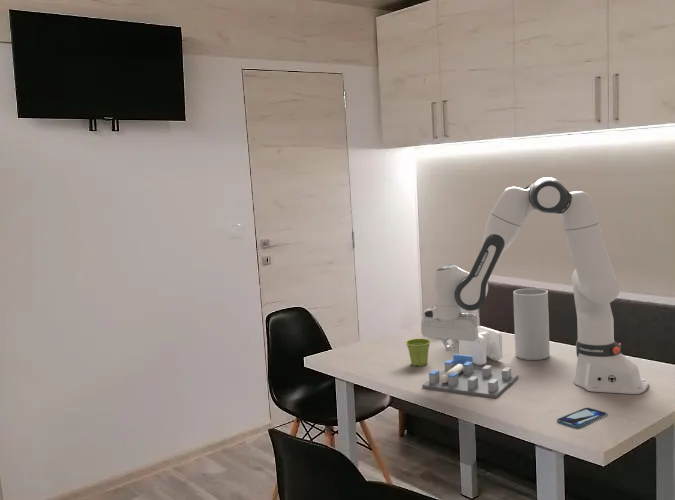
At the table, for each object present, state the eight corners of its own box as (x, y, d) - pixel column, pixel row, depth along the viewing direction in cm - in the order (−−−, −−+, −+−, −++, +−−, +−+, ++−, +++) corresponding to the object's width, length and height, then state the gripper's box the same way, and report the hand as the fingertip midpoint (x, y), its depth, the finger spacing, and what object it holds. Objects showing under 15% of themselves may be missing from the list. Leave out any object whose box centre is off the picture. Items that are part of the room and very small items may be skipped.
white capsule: (456, 369, 240) (458, 361, 239) (464, 372, 239) (466, 364, 238) (438, 382, 227) (439, 374, 226) (446, 385, 225) (447, 377, 225)
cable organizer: (504, 362, 248) (503, 332, 247) (481, 368, 244) (480, 337, 243) (480, 353, 262) (478, 324, 260) (457, 358, 258) (456, 329, 256)
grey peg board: (518, 377, 231) (517, 360, 230) (496, 398, 213) (495, 380, 212) (448, 369, 245) (447, 353, 245) (422, 387, 227) (421, 370, 226)
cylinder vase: (547, 351, 259) (545, 287, 256) (551, 360, 247) (550, 294, 244) (514, 351, 261) (511, 289, 258) (517, 361, 249) (514, 295, 246)
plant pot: (415, 369, 248) (413, 346, 247) (402, 363, 256) (401, 341, 255) (436, 364, 252) (435, 342, 251) (423, 358, 260) (422, 337, 259)
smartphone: (609, 413, 194) (577, 426, 185) (609, 416, 194) (577, 430, 185) (586, 406, 200) (555, 419, 191) (586, 410, 200) (555, 422, 191)
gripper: (480, 312, 227) (482, 351, 228) (425, 308, 238) (427, 345, 240) (473, 316, 221) (475, 356, 223) (418, 312, 233) (420, 350, 235)
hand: (450, 351), depth 232 cm, fingers closed
